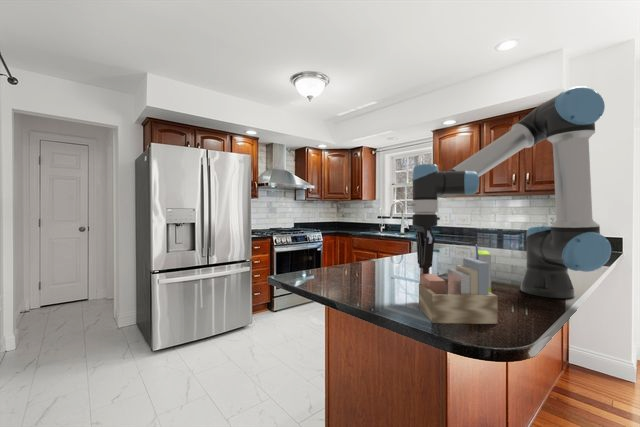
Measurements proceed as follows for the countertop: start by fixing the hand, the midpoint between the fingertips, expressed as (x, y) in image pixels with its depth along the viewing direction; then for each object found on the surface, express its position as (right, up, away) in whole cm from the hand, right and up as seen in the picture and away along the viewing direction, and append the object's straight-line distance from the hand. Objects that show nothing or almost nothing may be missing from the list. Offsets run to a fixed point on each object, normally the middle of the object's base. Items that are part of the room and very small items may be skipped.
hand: (424, 287), depth 100 cm
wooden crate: (+4, -4, -14) cm, 15 cm away
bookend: (+4, -4, -15) cm, 16 cm away
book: (0, -4, -7) cm, 8 cm away
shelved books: (+8, -4, -15) cm, 17 cm away
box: (+19, -4, +2) cm, 20 cm away
